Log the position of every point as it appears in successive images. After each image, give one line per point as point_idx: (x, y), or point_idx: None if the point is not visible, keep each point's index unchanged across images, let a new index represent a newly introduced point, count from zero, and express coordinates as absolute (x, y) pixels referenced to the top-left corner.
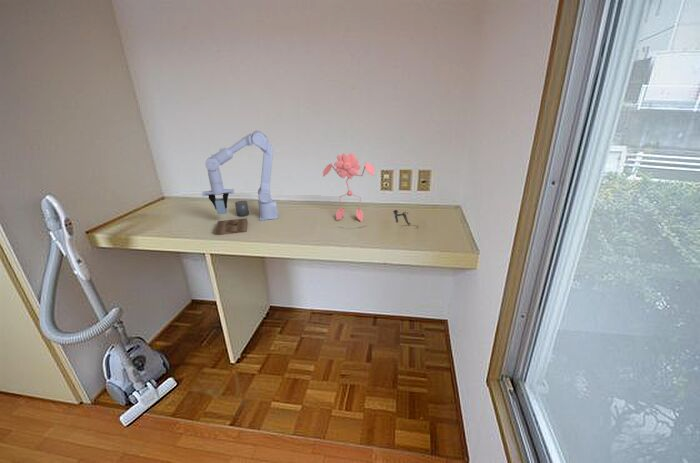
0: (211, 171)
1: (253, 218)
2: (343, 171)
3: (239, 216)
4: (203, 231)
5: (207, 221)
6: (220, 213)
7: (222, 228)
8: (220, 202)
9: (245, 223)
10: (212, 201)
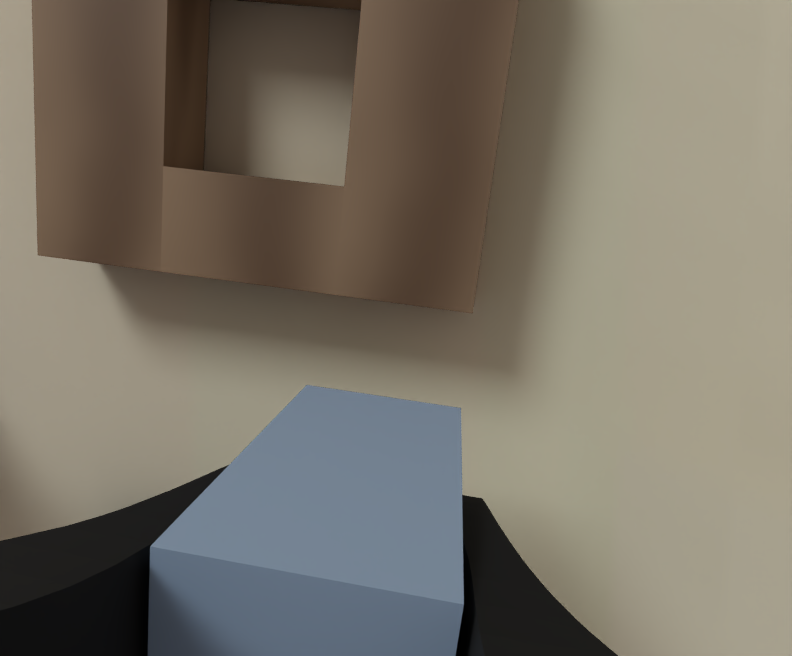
0: None
1: (28, 378)
2: None
3: None
4: (705, 155)
5: (624, 542)
6: (403, 403)
7: None
8: (287, 530)
9: (42, 7)
10: (561, 634)
